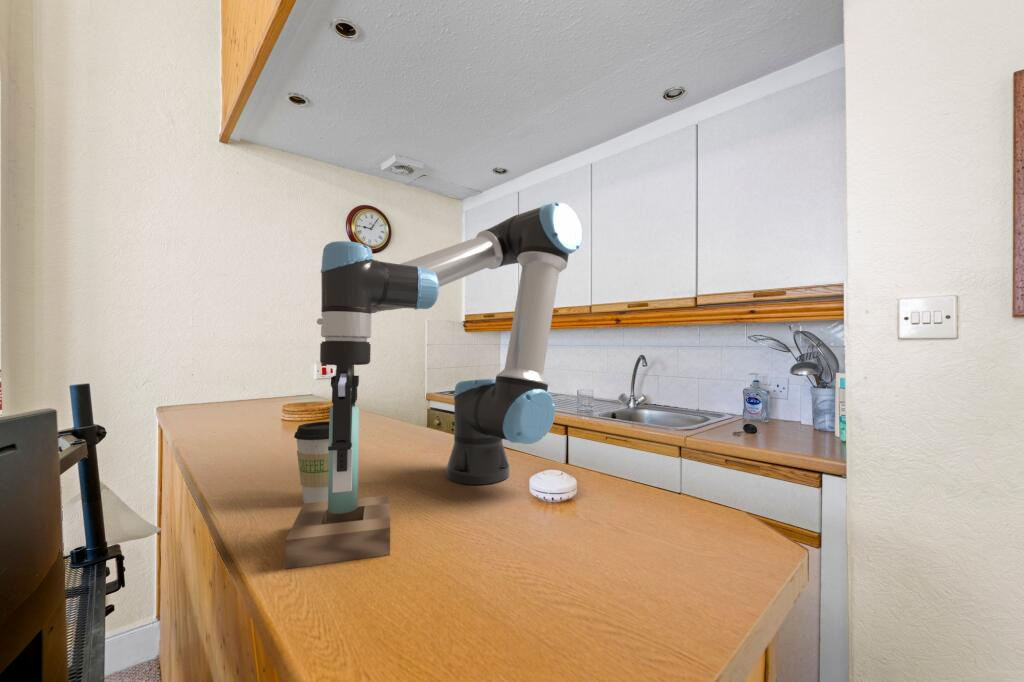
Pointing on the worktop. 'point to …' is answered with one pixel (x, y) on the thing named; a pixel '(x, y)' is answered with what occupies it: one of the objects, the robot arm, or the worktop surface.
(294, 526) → the socket block
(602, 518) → the worktop surface
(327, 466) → the coffee cup
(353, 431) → the peg
